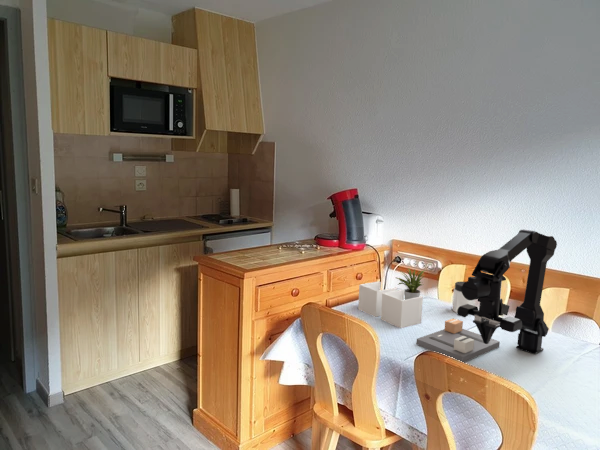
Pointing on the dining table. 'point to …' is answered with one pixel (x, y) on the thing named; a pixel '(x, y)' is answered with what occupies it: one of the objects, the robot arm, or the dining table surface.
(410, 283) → the house plant
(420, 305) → the white cube planter
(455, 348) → the left fader
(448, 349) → the mixer board
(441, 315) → the dining table surface
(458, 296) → the jar
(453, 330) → the right fader
